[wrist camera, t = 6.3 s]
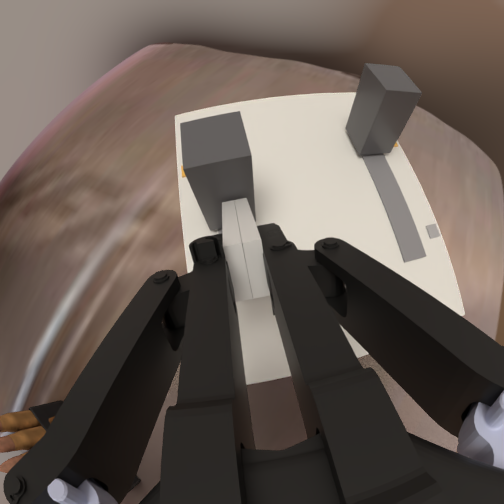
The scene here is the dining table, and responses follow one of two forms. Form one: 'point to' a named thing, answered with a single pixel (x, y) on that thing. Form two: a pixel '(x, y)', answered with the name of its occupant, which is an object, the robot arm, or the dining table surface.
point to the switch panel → (323, 207)
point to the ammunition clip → (28, 431)
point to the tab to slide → (217, 163)
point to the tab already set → (381, 108)
